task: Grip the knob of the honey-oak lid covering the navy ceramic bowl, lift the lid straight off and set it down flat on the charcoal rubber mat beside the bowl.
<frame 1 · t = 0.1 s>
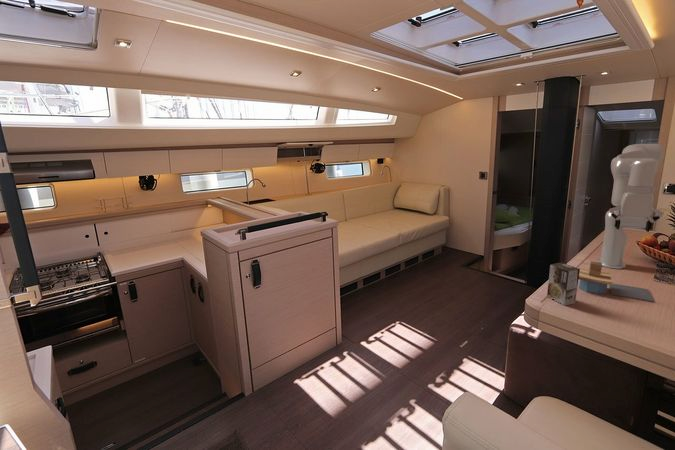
hand: (631, 229, 139), 31 cm above the table, tool pointing down, fingers open, 9 cm apart
coffee box: (560, 300, 145), on the table
charcoal mat: (629, 292, 149), on the table
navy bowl: (592, 289, 154), on the table
oak lid: (593, 277, 153), point 6 cm above the table, touching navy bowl
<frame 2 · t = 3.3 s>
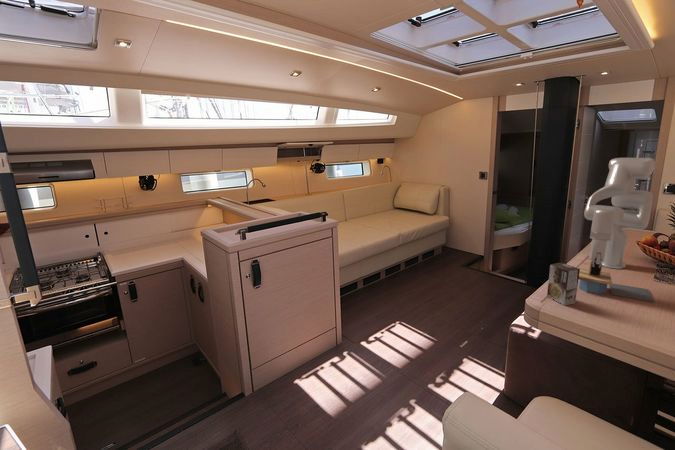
hand: (594, 272, 152), 8 cm above the table, tool pointing down, fingers closed on oak lid, 4 cm apart
oak lid: (593, 277, 153), point 6 cm above the table, touching gripper, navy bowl
everything else where it was.
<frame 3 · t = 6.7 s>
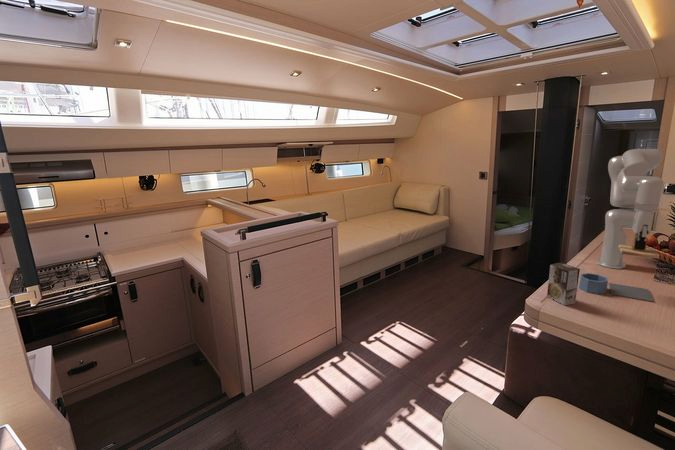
hand: (638, 247, 144), 22 cm above the table, tool pointing down, fingers closed on oak lid, 4 cm apart
oak lid: (637, 252, 144), point 20 cm above the table, touching gripper
everything else where it was.
when the fingers open (5 cm above the table, at t = 10.4 s): oak lid drops 2 cm, resting on charcoal mat.
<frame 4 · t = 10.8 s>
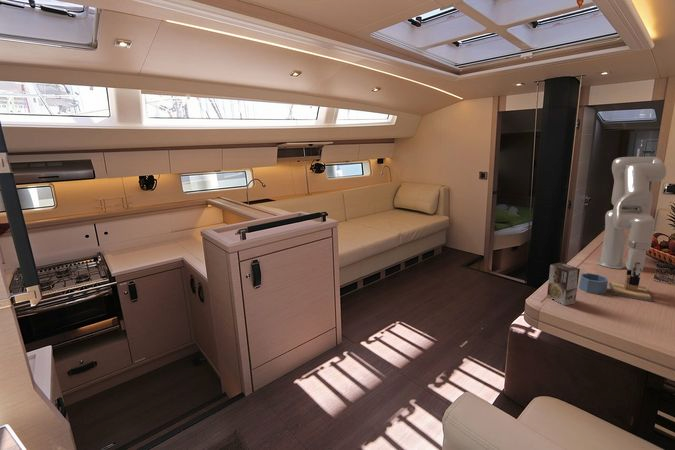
hand: (632, 281, 148), 6 cm above the table, tool pointing down, fingers open, 8 cm apart
oak lid: (630, 291, 149), resting on charcoal mat
everything else where it was.
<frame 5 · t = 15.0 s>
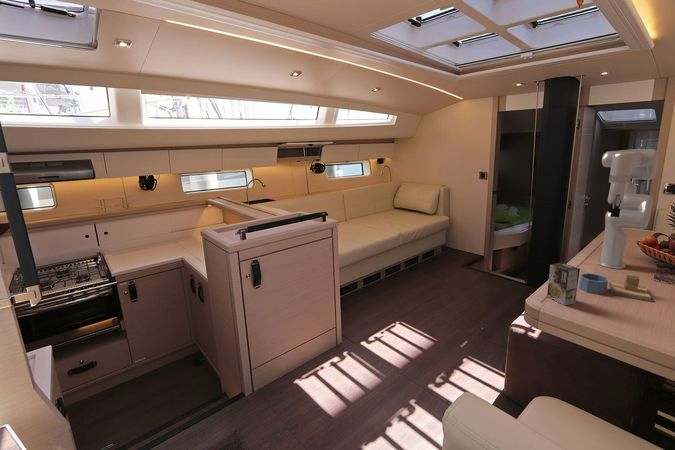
hand: (613, 214, 157), 33 cm above the table, tool pointing down, fingers open, 9 cm apart
nothing on the table moved.
at the end: oak lid inside the target area on the charcoal mat (0.1 cm from its centre), point 0.5 cm above the charcoal mat's base; oak lid tilted 0°; the gripper is holding nothing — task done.
